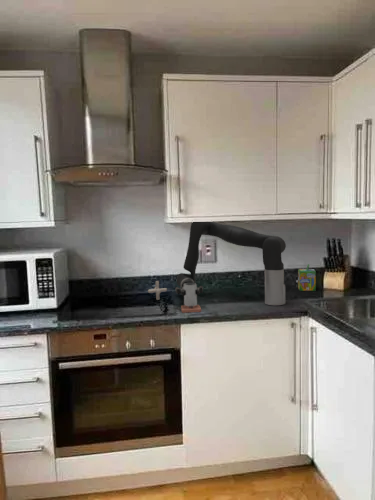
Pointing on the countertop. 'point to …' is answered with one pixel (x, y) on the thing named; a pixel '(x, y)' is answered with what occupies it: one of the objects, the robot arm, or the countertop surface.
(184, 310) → the shaft block
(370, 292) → the countertop surface
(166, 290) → the pipe connector
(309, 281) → the chalk box
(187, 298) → the grey cylinder
